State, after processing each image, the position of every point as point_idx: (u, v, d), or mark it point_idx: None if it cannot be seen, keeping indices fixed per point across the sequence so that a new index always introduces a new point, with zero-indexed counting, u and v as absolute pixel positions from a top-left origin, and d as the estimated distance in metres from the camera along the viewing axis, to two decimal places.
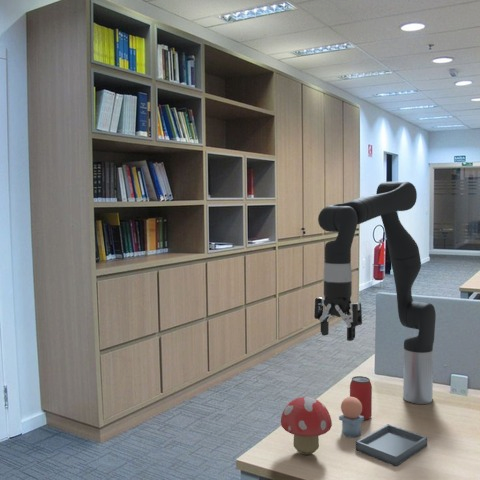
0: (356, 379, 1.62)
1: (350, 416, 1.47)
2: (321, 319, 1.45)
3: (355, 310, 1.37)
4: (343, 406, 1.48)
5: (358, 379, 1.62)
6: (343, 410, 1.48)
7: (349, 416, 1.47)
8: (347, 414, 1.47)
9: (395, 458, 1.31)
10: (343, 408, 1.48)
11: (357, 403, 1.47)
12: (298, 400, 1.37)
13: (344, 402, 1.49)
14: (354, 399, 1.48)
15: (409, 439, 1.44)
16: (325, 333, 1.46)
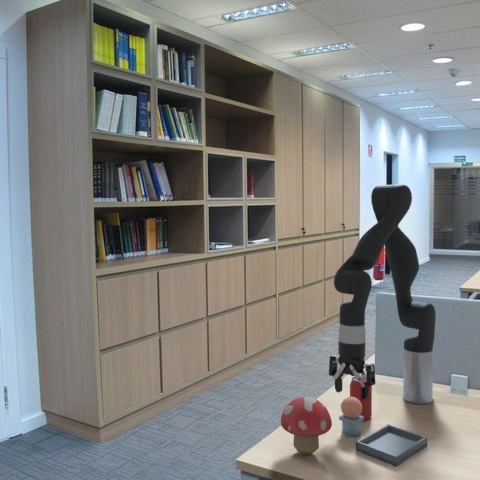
0: (356, 379, 1.62)
1: (350, 416, 1.47)
2: (335, 376, 1.51)
3: (369, 371, 1.43)
4: (343, 406, 1.48)
5: None
6: (343, 410, 1.48)
7: (349, 416, 1.47)
8: (347, 414, 1.47)
9: (395, 458, 1.31)
10: (343, 408, 1.48)
11: (357, 403, 1.47)
12: (298, 400, 1.37)
13: (344, 402, 1.49)
14: (354, 399, 1.48)
15: (409, 439, 1.44)
16: (339, 390, 1.52)
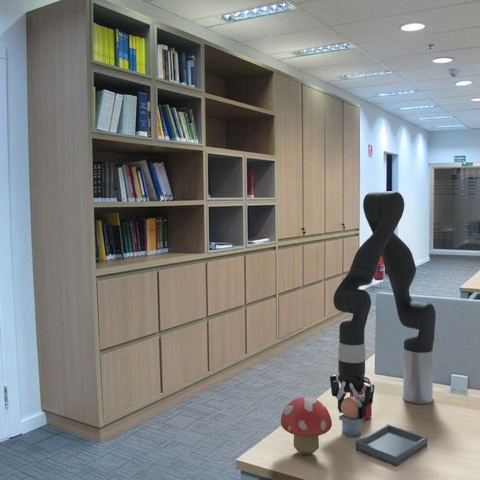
0: None
1: (350, 416, 1.47)
2: (338, 397, 1.51)
3: (368, 392, 1.44)
4: (343, 406, 1.48)
5: None
6: (343, 410, 1.48)
7: (349, 416, 1.47)
8: (347, 414, 1.47)
9: (395, 458, 1.31)
10: (343, 408, 1.48)
11: (357, 403, 1.47)
12: (298, 400, 1.37)
13: (344, 402, 1.49)
14: (354, 399, 1.48)
15: (409, 439, 1.44)
16: None
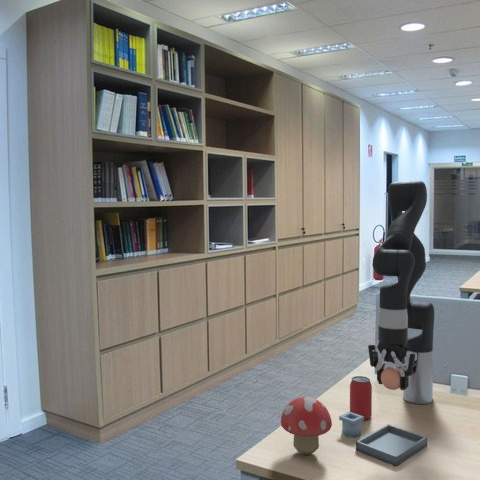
0: (356, 379, 1.62)
1: (391, 387, 1.37)
2: (378, 367, 1.41)
3: (412, 360, 1.33)
4: (384, 376, 1.38)
5: (358, 379, 1.62)
6: (384, 381, 1.38)
7: (390, 387, 1.37)
8: (388, 385, 1.37)
9: (395, 458, 1.31)
10: (384, 378, 1.38)
11: (399, 373, 1.37)
12: (298, 400, 1.37)
13: (385, 372, 1.38)
14: (395, 369, 1.38)
15: (409, 439, 1.44)
16: None
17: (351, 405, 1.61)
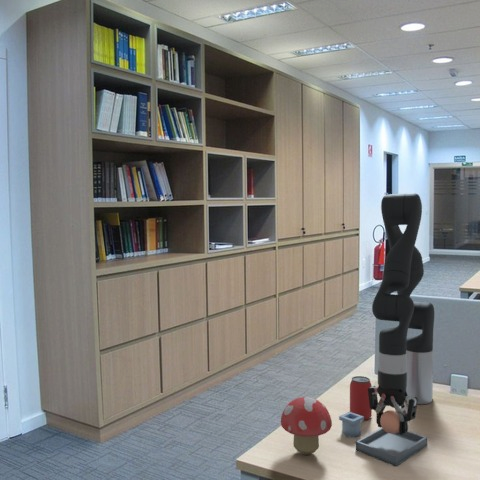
0: (356, 379, 1.62)
1: (391, 431, 1.38)
2: (377, 411, 1.42)
3: (411, 406, 1.34)
4: (383, 420, 1.39)
5: (358, 379, 1.62)
6: (383, 425, 1.39)
7: (390, 431, 1.38)
8: (387, 429, 1.38)
9: (395, 458, 1.31)
10: (383, 422, 1.38)
11: (398, 417, 1.38)
12: (298, 400, 1.37)
13: (384, 416, 1.39)
14: (395, 413, 1.39)
15: (409, 439, 1.44)
16: None
17: (351, 405, 1.61)
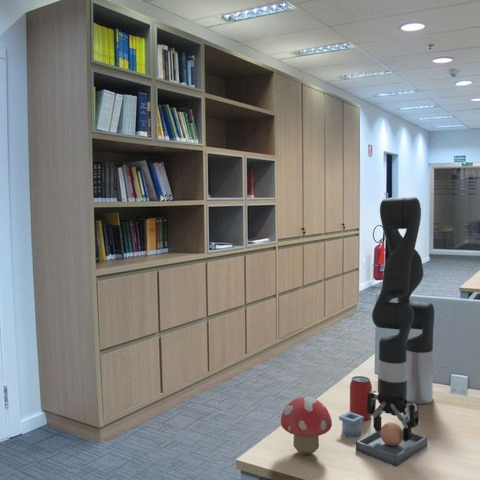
0: (356, 379, 1.62)
1: (391, 443, 1.38)
2: (374, 415, 1.42)
3: (412, 412, 1.34)
4: (383, 433, 1.39)
5: (358, 379, 1.62)
6: (383, 437, 1.39)
7: (390, 443, 1.38)
8: (388, 441, 1.38)
9: (395, 458, 1.31)
10: (383, 435, 1.39)
11: (398, 430, 1.38)
12: (298, 400, 1.37)
13: (384, 428, 1.39)
14: (395, 425, 1.39)
15: (409, 439, 1.44)
16: (378, 429, 1.43)
17: (351, 405, 1.61)
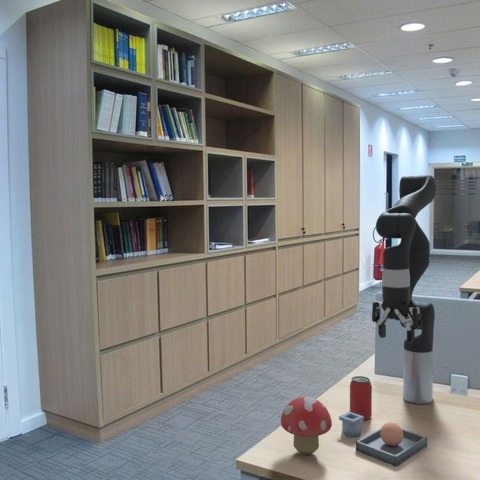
0: (356, 379, 1.62)
1: (391, 444, 1.38)
2: (379, 322, 1.51)
3: (415, 314, 1.42)
4: (383, 433, 1.39)
5: (358, 379, 1.62)
6: (383, 437, 1.39)
7: (390, 444, 1.38)
8: (388, 441, 1.38)
9: (395, 458, 1.31)
10: (383, 435, 1.39)
11: (398, 430, 1.38)
12: (298, 400, 1.37)
13: (384, 428, 1.39)
14: (395, 425, 1.39)
15: (409, 439, 1.44)
16: (383, 335, 1.51)
17: (351, 405, 1.61)
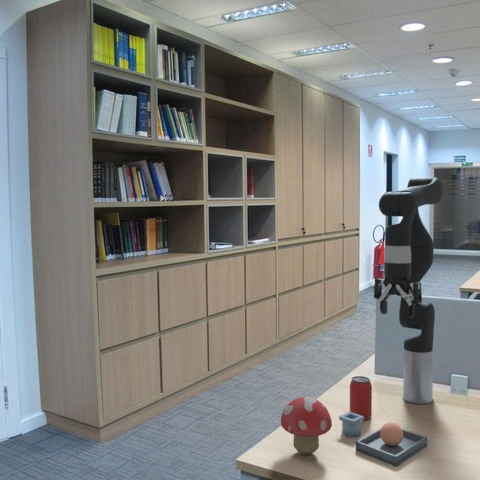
0: (356, 379, 1.62)
1: (391, 444, 1.38)
2: (381, 298, 1.55)
3: (416, 289, 1.47)
4: (383, 433, 1.39)
5: (358, 379, 1.62)
6: (383, 437, 1.39)
7: (390, 444, 1.38)
8: (388, 441, 1.38)
9: (395, 458, 1.31)
10: (383, 435, 1.39)
11: (398, 430, 1.38)
12: (298, 400, 1.37)
13: (384, 428, 1.39)
14: (395, 425, 1.39)
15: (409, 439, 1.44)
16: (384, 312, 1.56)
17: (351, 405, 1.61)
